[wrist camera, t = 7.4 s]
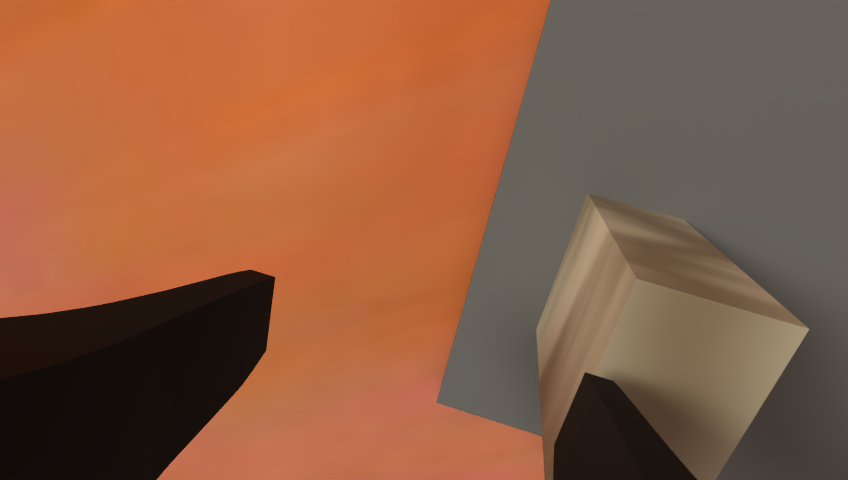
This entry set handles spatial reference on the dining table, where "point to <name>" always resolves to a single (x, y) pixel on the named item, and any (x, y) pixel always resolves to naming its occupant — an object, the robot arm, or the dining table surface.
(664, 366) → the light wood block
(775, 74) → the mat
